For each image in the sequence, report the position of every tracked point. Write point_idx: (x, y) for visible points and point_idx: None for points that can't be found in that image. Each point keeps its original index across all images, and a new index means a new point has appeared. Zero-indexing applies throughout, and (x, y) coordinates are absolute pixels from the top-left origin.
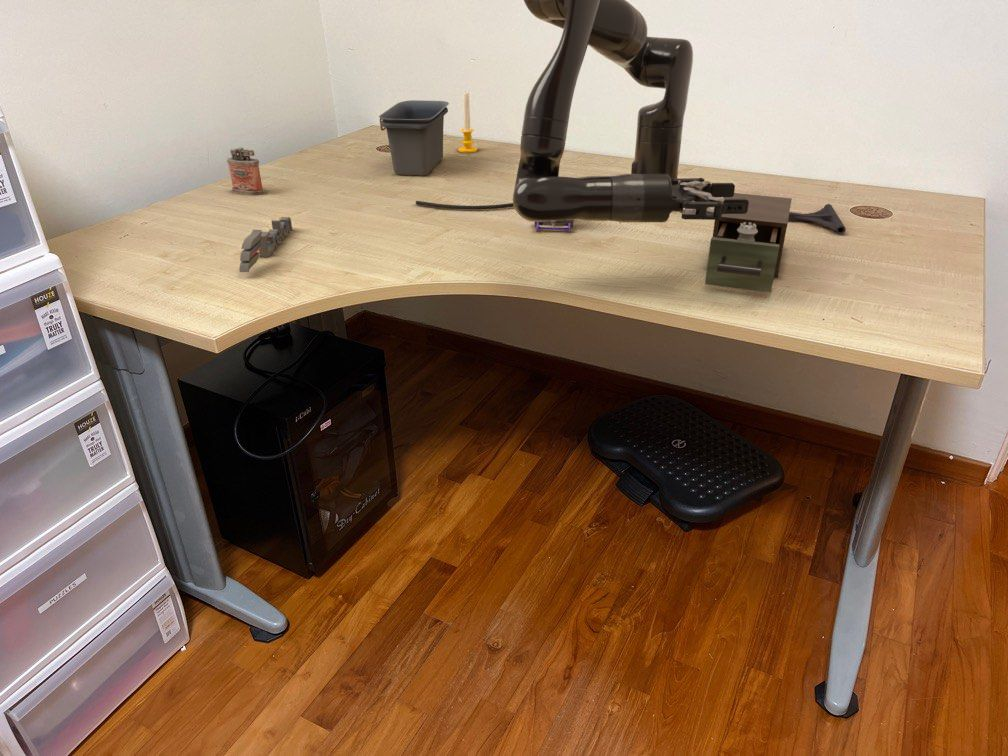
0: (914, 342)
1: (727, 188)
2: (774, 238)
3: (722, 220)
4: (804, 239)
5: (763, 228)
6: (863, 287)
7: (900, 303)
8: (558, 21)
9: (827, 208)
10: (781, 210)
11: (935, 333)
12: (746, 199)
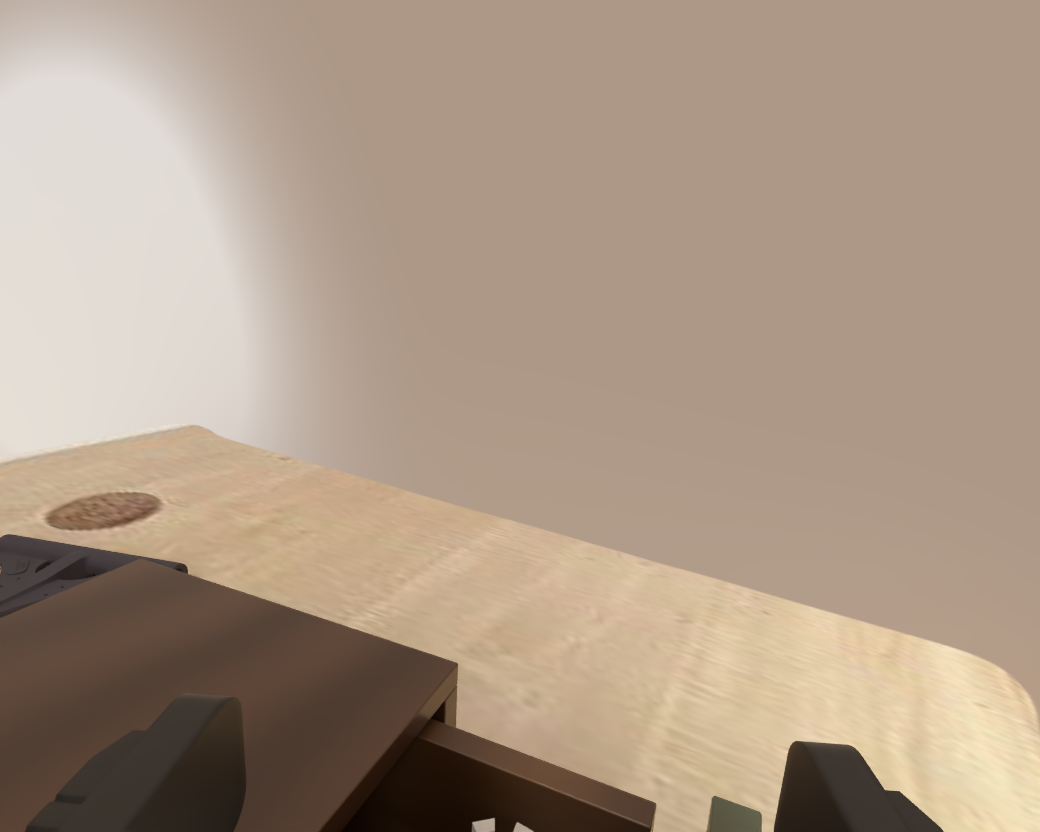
0: (912, 701)
1: (192, 794)
2: (591, 785)
3: None
4: None
5: None
6: (557, 669)
7: (658, 642)
8: None
9: (23, 547)
10: (263, 627)
11: (824, 649)
12: (839, 748)
